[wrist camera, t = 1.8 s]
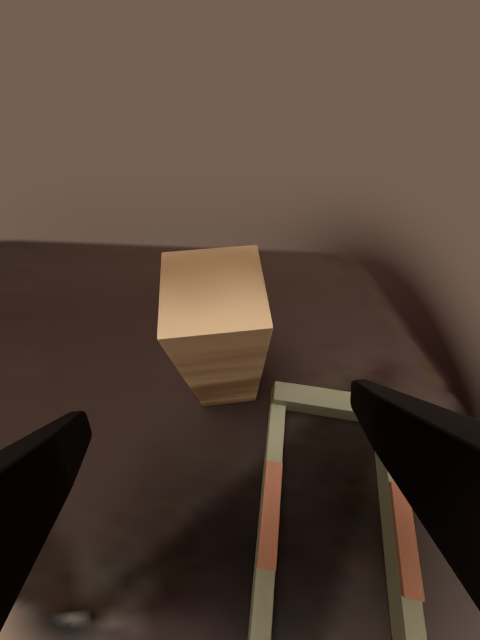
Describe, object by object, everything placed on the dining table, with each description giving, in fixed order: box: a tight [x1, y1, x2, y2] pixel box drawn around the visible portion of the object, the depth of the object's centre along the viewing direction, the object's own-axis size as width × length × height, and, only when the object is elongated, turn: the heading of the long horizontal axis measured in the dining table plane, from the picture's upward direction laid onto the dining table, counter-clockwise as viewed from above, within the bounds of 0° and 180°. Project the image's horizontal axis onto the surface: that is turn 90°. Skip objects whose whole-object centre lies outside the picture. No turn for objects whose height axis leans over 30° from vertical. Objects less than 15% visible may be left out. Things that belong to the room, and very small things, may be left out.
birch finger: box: [157, 245, 273, 407], centre depth 15 cm, size 4×4×12 cm
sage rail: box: [248, 381, 427, 640], centre depth 15 cm, size 13×8×3 cm, turn 171°
